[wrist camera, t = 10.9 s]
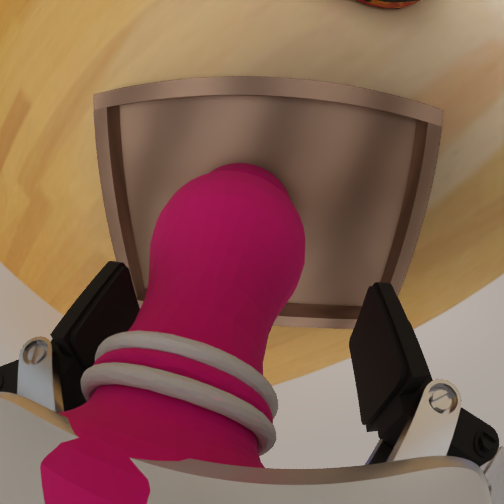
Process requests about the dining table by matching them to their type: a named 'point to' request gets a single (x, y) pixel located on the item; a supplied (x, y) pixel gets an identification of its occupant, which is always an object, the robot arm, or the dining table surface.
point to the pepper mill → (189, 344)
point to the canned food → (389, 3)
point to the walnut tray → (278, 173)
